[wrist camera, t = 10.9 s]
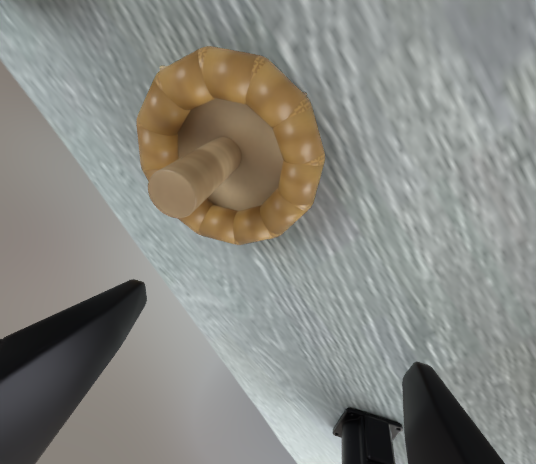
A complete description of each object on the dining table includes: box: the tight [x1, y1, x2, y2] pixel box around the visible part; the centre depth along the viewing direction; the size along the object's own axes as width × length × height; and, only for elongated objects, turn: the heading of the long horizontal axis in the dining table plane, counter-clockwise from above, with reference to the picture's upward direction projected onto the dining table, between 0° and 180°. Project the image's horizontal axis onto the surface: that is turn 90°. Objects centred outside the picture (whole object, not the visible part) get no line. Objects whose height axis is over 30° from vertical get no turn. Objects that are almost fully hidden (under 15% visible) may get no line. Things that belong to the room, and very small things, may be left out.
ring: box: [137, 46, 325, 245], centre depth 17 cm, size 12×12×2 cm
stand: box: [148, 66, 307, 218], centre depth 16 cm, size 9×9×8 cm
